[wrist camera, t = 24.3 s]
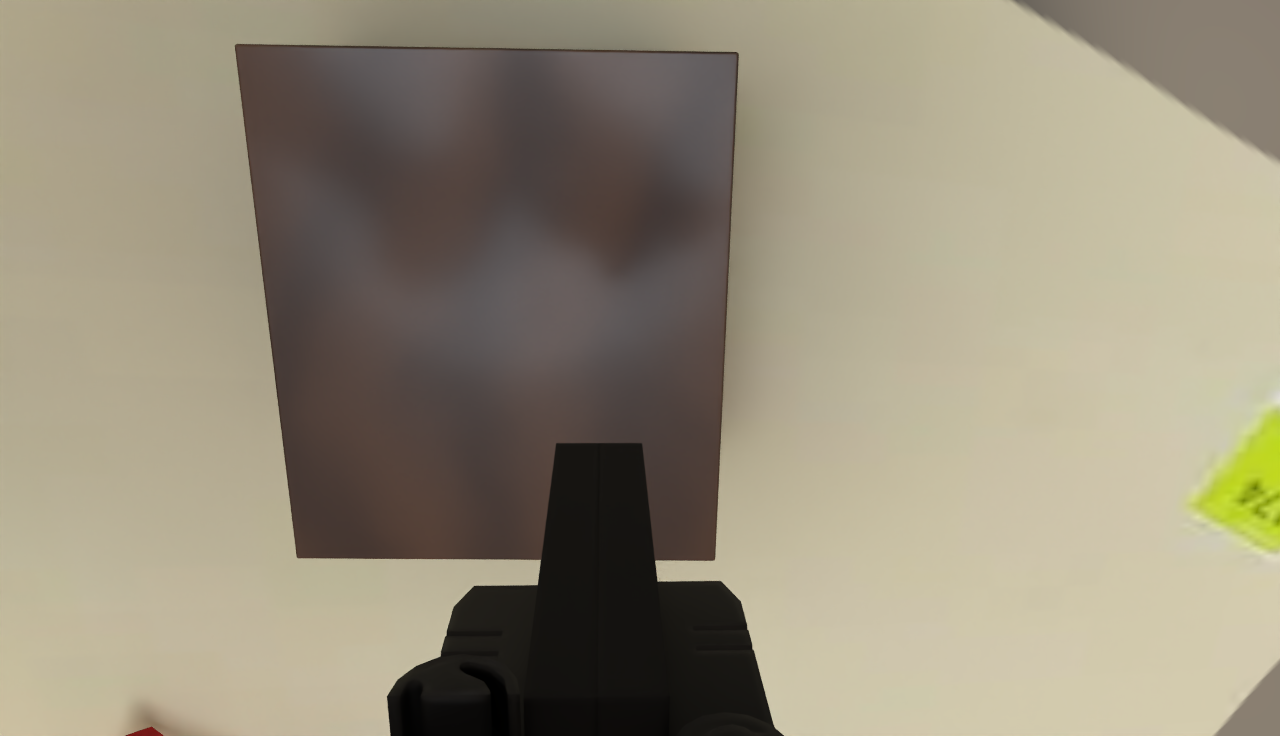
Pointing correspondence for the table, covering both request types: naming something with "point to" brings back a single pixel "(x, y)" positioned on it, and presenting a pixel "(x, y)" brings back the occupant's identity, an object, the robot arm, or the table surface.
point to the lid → (490, 284)
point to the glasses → (146, 732)
